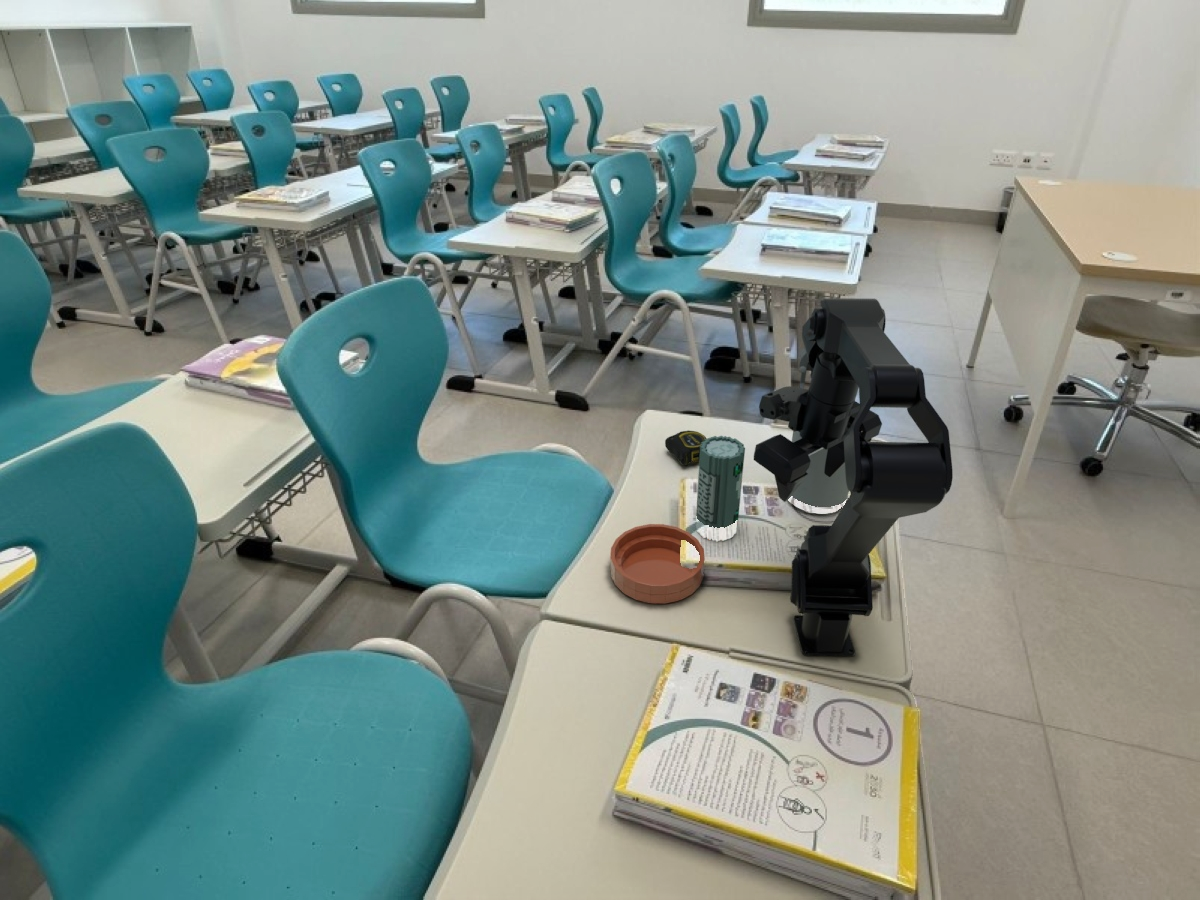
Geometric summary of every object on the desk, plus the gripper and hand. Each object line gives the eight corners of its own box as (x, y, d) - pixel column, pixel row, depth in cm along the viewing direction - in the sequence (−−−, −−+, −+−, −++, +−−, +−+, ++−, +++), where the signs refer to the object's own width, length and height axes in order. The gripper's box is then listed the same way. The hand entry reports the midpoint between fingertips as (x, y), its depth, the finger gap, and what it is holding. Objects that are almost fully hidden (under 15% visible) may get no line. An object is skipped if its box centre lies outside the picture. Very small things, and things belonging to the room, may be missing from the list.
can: (744, 533, 110) (752, 450, 102) (711, 546, 108) (718, 463, 100) (720, 512, 115) (726, 432, 107) (688, 524, 113) (692, 443, 105)
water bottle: (779, 512, 115) (801, 351, 100) (783, 478, 123) (804, 324, 108) (846, 521, 112) (879, 357, 97) (846, 486, 120) (876, 329, 105)
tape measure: (663, 451, 131) (663, 433, 129) (696, 443, 133) (697, 425, 131) (680, 470, 125) (680, 452, 123) (715, 462, 127) (716, 444, 125)
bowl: (706, 605, 98) (708, 586, 96) (609, 604, 98) (609, 585, 96) (699, 543, 109) (700, 524, 107) (612, 542, 109) (611, 523, 108)
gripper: (830, 345, 99) (806, 435, 109) (732, 385, 90) (716, 480, 100) (898, 381, 92) (866, 474, 102) (800, 429, 83) (775, 526, 93)
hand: (805, 487), depth 99 cm, fingers open, 9 cm apart
